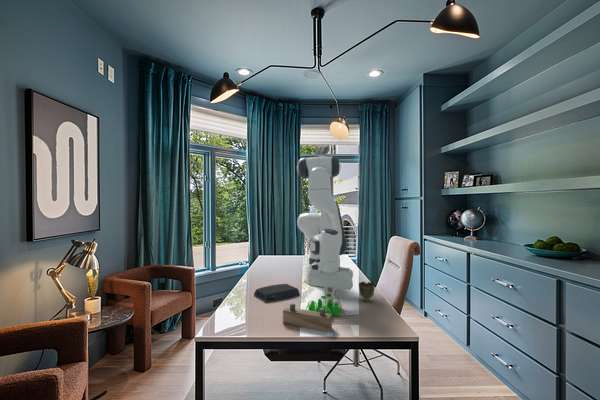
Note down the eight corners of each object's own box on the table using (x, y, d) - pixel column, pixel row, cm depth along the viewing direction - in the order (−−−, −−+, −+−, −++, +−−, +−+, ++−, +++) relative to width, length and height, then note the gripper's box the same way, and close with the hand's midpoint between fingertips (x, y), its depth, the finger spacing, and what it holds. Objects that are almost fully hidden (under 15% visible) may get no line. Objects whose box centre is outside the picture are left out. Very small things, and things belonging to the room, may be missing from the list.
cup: (375, 298, 147) (375, 281, 147) (374, 303, 140) (374, 286, 140) (359, 297, 149) (359, 280, 149) (357, 302, 142) (357, 284, 142)
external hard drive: (252, 296, 151) (252, 287, 151) (286, 289, 162) (286, 282, 162) (265, 304, 140) (265, 294, 140) (301, 296, 151) (301, 288, 151)
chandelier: (334, 305, 138) (335, 290, 138) (347, 319, 123) (347, 301, 123) (301, 308, 134) (302, 292, 134) (310, 322, 120) (310, 304, 120)
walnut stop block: (287, 319, 121) (287, 301, 121) (331, 327, 114) (332, 308, 114) (282, 323, 117) (283, 304, 117) (328, 332, 110) (328, 312, 110)
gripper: (354, 266, 137) (354, 298, 138) (311, 262, 146) (311, 292, 146) (351, 269, 132) (350, 302, 132) (306, 265, 140) (306, 296, 140)
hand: (329, 297), depth 139 cm, fingers closed
